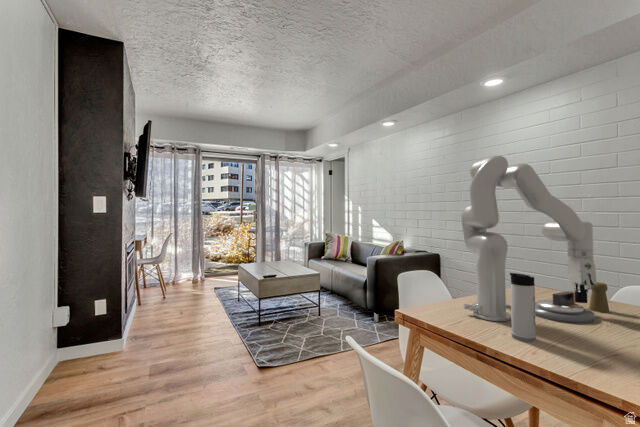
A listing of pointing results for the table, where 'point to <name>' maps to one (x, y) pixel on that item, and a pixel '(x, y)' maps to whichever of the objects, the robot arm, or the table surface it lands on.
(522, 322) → the travel mug
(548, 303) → the dial
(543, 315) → the dial base
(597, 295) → the cork
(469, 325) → the table surface
